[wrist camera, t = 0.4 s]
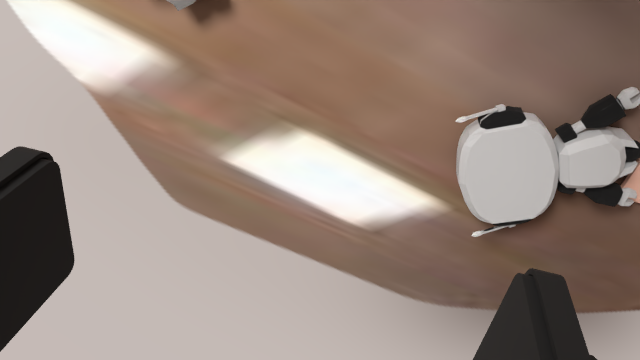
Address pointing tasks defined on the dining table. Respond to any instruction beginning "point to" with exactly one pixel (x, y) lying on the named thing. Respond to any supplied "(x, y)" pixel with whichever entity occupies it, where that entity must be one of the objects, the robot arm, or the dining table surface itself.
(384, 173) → the dining table surface
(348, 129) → the dining table surface
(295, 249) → the dining table surface
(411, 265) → the dining table surface
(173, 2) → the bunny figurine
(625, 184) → the terracotta mat
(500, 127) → the robot toy
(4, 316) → the robot arm
